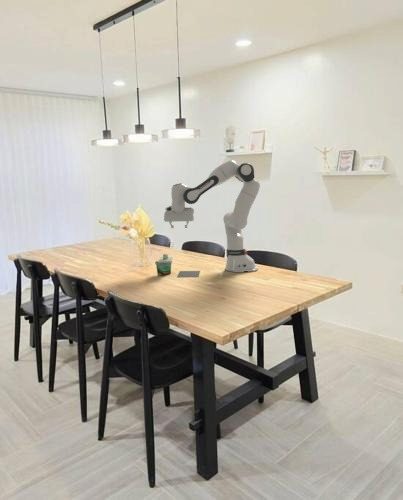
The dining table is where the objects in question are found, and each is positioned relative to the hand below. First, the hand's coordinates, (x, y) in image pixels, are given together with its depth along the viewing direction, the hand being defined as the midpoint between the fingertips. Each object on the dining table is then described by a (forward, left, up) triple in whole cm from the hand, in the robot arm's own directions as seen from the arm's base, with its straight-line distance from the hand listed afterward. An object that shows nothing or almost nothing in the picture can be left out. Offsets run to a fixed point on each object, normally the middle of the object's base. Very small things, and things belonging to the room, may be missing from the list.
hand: (179, 227), depth 271 cm
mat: (-7, +15, -29) cm, 34 cm away
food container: (+8, +16, -29) cm, 34 cm away
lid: (+8, +16, -19) cm, 26 cm away
